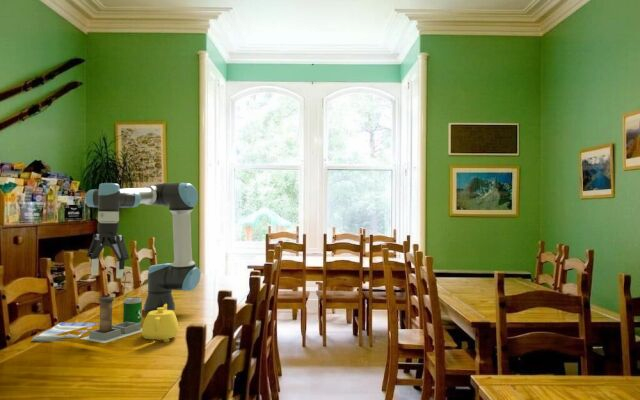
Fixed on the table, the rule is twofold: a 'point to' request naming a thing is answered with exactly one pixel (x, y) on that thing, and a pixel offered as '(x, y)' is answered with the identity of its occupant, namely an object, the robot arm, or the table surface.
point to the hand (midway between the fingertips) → (107, 276)
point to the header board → (114, 332)
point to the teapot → (160, 324)
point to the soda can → (132, 310)
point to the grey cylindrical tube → (105, 314)
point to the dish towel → (60, 328)
